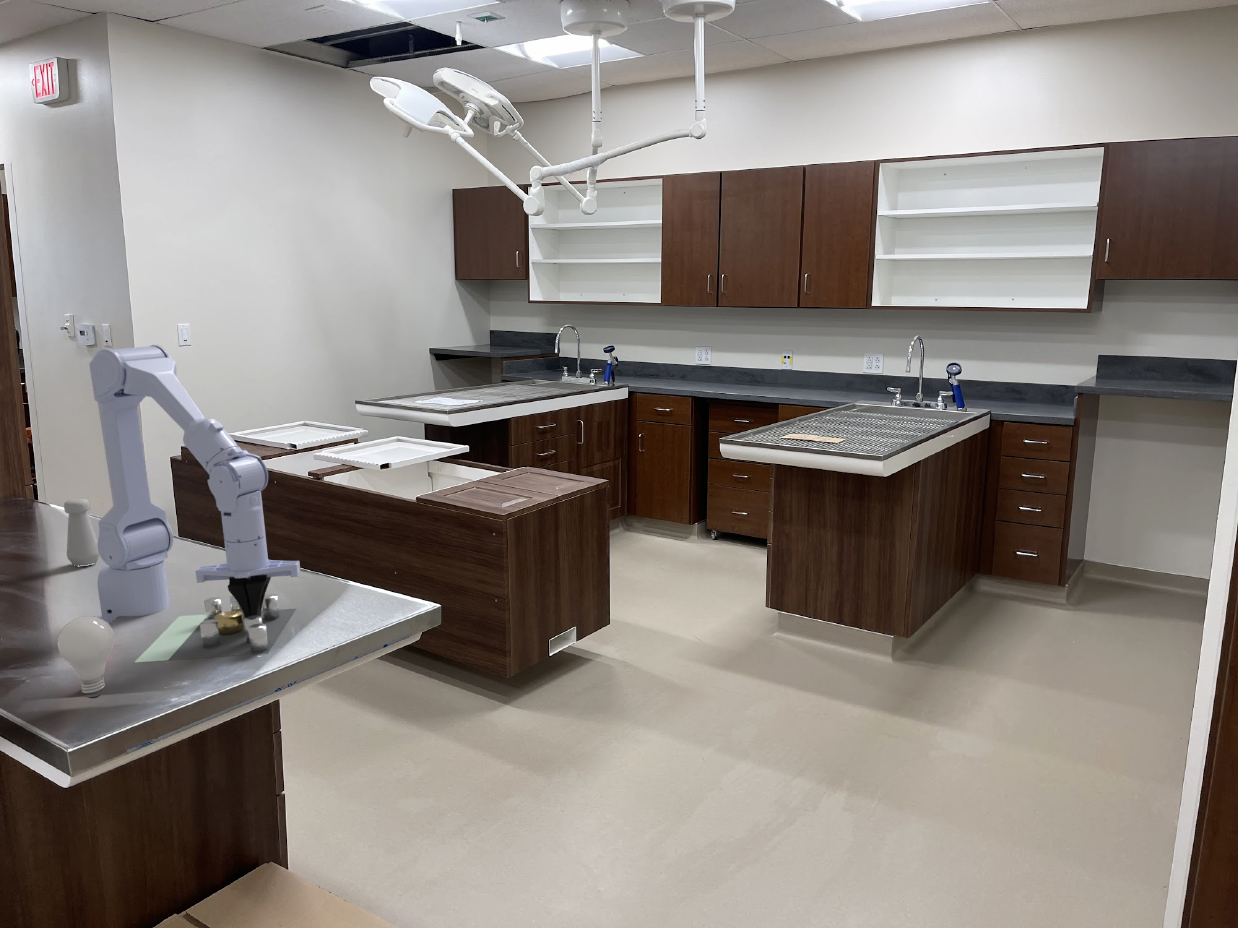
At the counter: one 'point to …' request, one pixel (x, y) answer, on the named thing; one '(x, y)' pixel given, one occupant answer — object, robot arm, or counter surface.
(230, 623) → the gold disc
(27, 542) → the counter surface
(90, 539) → the salt shaker
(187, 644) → the mat
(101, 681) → the lightbulb
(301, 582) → the counter surface
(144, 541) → the robot arm
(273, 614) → the spacers
